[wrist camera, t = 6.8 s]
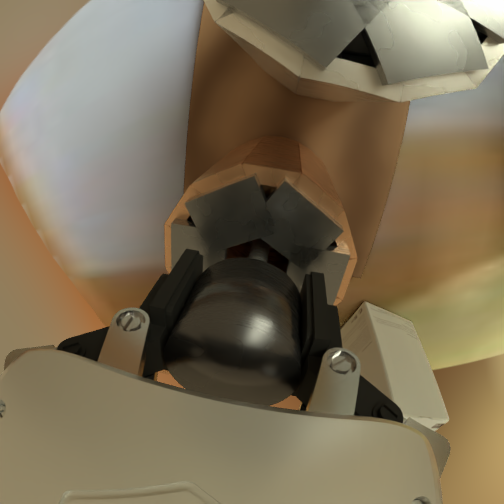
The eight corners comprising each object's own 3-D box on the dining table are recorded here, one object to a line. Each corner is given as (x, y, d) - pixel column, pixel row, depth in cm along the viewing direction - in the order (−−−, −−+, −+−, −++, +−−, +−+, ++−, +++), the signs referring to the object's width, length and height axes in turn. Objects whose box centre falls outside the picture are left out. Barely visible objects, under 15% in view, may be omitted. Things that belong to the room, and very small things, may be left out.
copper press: (339, 148, 22) (381, 194, 11) (310, 270, 28) (314, 375, 17) (224, 128, 23) (160, 157, 12) (213, 252, 29) (166, 346, 18)
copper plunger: (321, 172, 20) (365, 316, 7) (303, 249, 23) (303, 429, 10) (232, 157, 20) (122, 270, 7) (224, 235, 24) (148, 397, 11)
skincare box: (336, 332, 33) (344, 445, 20) (365, 296, 30) (392, 414, 17) (387, 351, 34) (407, 452, 21) (416, 320, 31) (452, 423, 18)
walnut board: (416, -14, 14) (421, -18, 13) (358, 271, 29) (360, 278, 28) (219, -49, 15) (216, -54, 14) (186, 240, 30) (182, 246, 29)
